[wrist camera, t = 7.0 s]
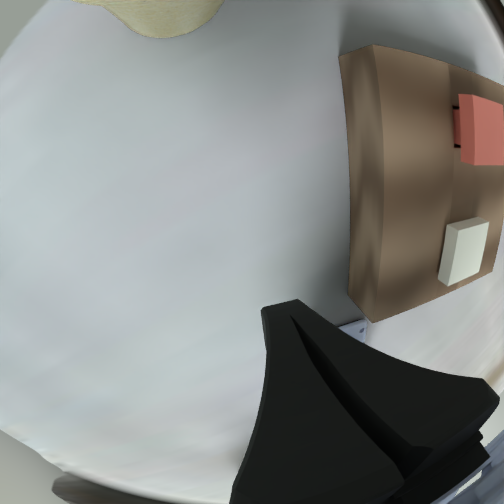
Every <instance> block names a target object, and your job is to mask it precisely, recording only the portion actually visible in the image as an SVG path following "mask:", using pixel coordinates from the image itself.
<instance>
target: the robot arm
mask: <svg viewBox="0 0 504 504" xmlns="http://www.w3.org/2000/svg"><path fill="white" fill-rule="evenodd" d="M261 317H262V324H263V332H264V339H265V346H266V351H267V354H266V368H265V378H264V385H263V391H262V397H261V402H260V406H259V411H258V415H257V419H256V423H255V426H254V430H253V433H252V436H251V439H250V442H249V445H248V448H247V451H246V454H245V457H244V459H243V462H242V464H241V467H240V469H239V471H238V474H237V476H236V478H235V481H234V483H233V486H232V493H231V497H230V502H229V504H504V430H503V431H502V432H501V433H500V434H499V435H498V436H496V437H495V438H494V439H493V440H492V441H491V442H490V443H489V444H488V445H487V446H486V447H483V445H482V444H481V443H480V441H481V440H482V439H483V435H482V434H481V433H480V431H479V429H480V428H481V427H482V425H483V424H484V423H485V422H486V421H487V419H488V418H489V417H490V416H491V415H492V413H493V412H494V411H495V409H496V408H497V406H498V405H499V401H500V397H499V396H498V395H497V394H496V393H495V391H494V390H493V389H492V388H491V387H490V386H489V385H488V384H487V383H486V381H485V380H484V379H482V378H473V377H465V376H458V375H452V374H447V373H442V372H438V371H434V370H430V369H426V368H423V367H419V366H416V365H413V364H410V363H407V362H404V361H402V360H399V359H396V358H394V357H391V356H389V355H387V354H385V353H383V352H380V351H378V350H376V349H374V348H372V347H370V346H368V345H366V344H364V341H365V335H366V328H367V322H366V321H365V320H359V321H356V322H353V323H350V324H347V325H344V326H341V327H336V326H335V325H333V324H332V323H330V322H329V321H327V320H326V319H324V318H323V317H322V316H320V315H319V314H317V313H316V312H315V311H313V310H312V309H311V308H309V307H308V306H307V305H305V304H304V303H303V302H301V301H300V300H298V299H295V300H291V301H287V302H283V303H279V304H275V305H271V306H266V307H263V308H262V310H261ZM481 470H482V475H481V477H480V478H479V479H478V480H476V481H475V482H474V483H472V484H471V485H470V486H468V487H467V488H466V489H464V490H463V491H462V492H460V493H459V494H458V495H456V493H457V491H458V489H459V488H460V487H461V486H463V485H464V484H465V483H467V482H468V481H469V480H470V479H471V478H473V477H474V476H475V475H476V474H477V473H479V472H480V471H481ZM455 495H456V496H455ZM454 496H455V497H454Z"/></svg>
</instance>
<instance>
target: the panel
mask: <svg viewBox="0 0 504 504" xmlns="http://www.w3.org/2000/svg"><path fill="white" fill-rule="evenodd" d="M339 64H340V70H341V78H342V86H343V94H344V103H345V113H346V124H347V137H348V152H349V172H350V263H349V283H348V296H349V297H350V298H351V299H352V300H353V302H354V303H355V304H356V305H357V306H358V307H359V308H360V310H361V311H362V312H363V313H364V314H365V315H366V316H367V318H368V319H369V320H370V321H371V322H372V323H375V322H378V321H381V320H384V319H386V318H389V317H392V316H394V315H397V314H400V313H402V312H405V311H407V310H410V309H412V308H415V307H417V306H419V305H422V304H424V303H427V302H429V301H431V300H434V299H436V298H438V297H440V296H443V295H445V294H447V293H449V292H451V291H454V290H456V289H458V288H460V287H462V286H464V285H466V284H468V283H470V282H472V281H474V280H476V279H478V278H480V277H482V276H484V275H486V274H488V273H490V272H492V270H493V266H494V263H495V258H496V254H497V250H498V245H499V241H500V236H501V231H502V225H503V219H504V165H471V164H468V163H464V162H461V145H459V144H454V124H453V110H460V107H459V95H458V94H470V95H475V96H478V97H482V98H485V99H488V100H491V101H493V102H496V103H499V104H502V105H503V113H504V86H503V85H501V84H499V83H496V82H494V81H492V80H490V79H488V78H485V77H483V76H481V75H478V74H476V73H473V72H471V71H468V70H465V69H463V68H460V67H457V66H454V65H452V64H449V63H446V62H443V61H439V60H436V59H433V58H430V57H426V56H423V55H419V54H415V53H411V52H407V51H403V50H399V49H394V48H389V47H385V46H379V45H374V44H372V45H369V46H366V47H363V48H360V49H358V50H355V51H352V52H349V53H347V54H344V55H341V56H339ZM475 217H480V218H482V219H484V220H486V221H488V222H489V226H488V232H487V237H486V242H485V247H484V252H483V257H482V261H481V265H480V269H479V272H478V273H476V274H474V275H472V276H470V277H467V278H465V279H463V280H461V281H459V282H457V283H454V284H452V285H450V286H446V285H445V284H444V283H442V282H441V281H440V280H438V274H439V269H440V264H441V259H442V253H443V247H444V241H445V234H446V227H447V224H451V223H455V222H459V221H463V220H467V219H471V218H475Z"/></svg>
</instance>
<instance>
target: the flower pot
mask: <svg viewBox="0 0 504 504" xmlns="http://www.w3.org/2000/svg"><path fill="white" fill-rule="evenodd" d="M72 1H75V2H78V3H83V4H88V5H97V6H103V7H104V8H105V9H107V10H108V11H109V12H111V13H112V14H113V15H114V16H116V17H117V18H118V19H119V20H121V21H122V22H123V23H124V24H125V25H126V26H127V27H128V28H129V29H131V30H133V31H134V32H136V33H138V34H141V35H143V36H148V37H154V38H169V37H175V36H180V35H183V34H186V33H189V32H192V31H194V30H195V29H197V28H199V27H200V26H202V25H203V24H205V23H206V22H208V21H209V20H210V19H211V18H212V17H213V16H214V15H215V14H216V13H217V11H218V9H219V8H220V6H221V5H222V3H223V2H224V1H225V0H72Z"/></svg>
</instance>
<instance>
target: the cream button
mask: <svg viewBox="0 0 504 504" xmlns="http://www.w3.org/2000/svg"><path fill="white" fill-rule="evenodd" d="M488 226H489V222H488V221H486V220H484V219H482V218H480V217H475V218H471V219H467V220H463V221H459V222H455V223H451V224H447V227H446V234H445V241H444V247H443V253H442V259H441V264H440V269H439V274H438V280H440V281H441V282H442V283H444V284H445V285H446V286H450V285H452V284H454V283H457V282H459V281H461V280H463V279H465V278H467V277H470V276H472V275H474V274H476V273H478V272H479V269H480V265H481V261H482V257H483V252H484V247H485V242H486V237H487V232H488Z"/></svg>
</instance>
